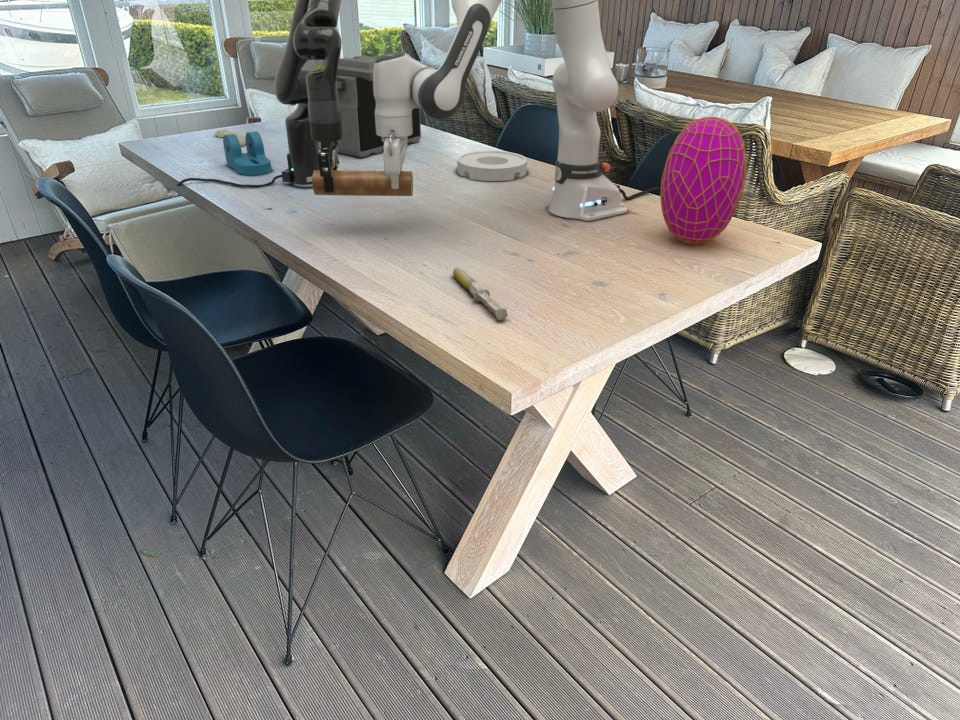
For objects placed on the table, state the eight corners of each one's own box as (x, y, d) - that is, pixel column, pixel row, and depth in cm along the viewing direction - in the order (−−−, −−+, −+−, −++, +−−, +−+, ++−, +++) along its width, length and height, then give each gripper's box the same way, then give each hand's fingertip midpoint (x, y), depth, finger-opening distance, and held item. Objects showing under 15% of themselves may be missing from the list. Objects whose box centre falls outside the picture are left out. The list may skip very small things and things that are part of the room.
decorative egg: (709, 261, 163) (734, 131, 148) (638, 240, 174) (655, 118, 159) (744, 240, 175) (770, 118, 160) (676, 222, 187) (694, 107, 171)
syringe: (449, 274, 155) (449, 263, 153) (465, 272, 156) (464, 260, 154) (490, 323, 135) (491, 310, 133) (508, 319, 136) (508, 307, 134)
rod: (313, 198, 170) (311, 173, 167) (318, 191, 175) (316, 167, 172) (411, 199, 171) (410, 175, 168) (413, 192, 176) (412, 168, 173)
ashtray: (459, 161, 239) (459, 150, 237) (525, 163, 239) (526, 151, 237) (455, 180, 219) (455, 167, 217) (527, 181, 219) (528, 169, 217)
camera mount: (227, 164, 233) (221, 132, 227) (257, 160, 238) (252, 129, 233) (244, 176, 220) (239, 143, 215) (276, 172, 225) (271, 139, 220)
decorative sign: (264, 139, 260) (239, 143, 254) (265, 142, 261) (240, 146, 255) (233, 128, 277) (209, 131, 271) (233, 130, 277) (209, 134, 271)
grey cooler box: (383, 133, 276) (378, 52, 261) (425, 141, 265) (422, 56, 250) (314, 150, 251) (304, 61, 235) (358, 160, 240) (350, 67, 224)
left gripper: (335, 125, 157) (342, 197, 166) (345, 112, 170) (351, 180, 178) (303, 124, 157) (311, 196, 166) (315, 112, 170) (322, 180, 178)
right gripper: (403, 136, 156) (406, 196, 163) (410, 118, 173) (412, 172, 180) (375, 136, 156) (379, 196, 163) (385, 117, 173) (388, 172, 180)
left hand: (331, 187), depth 172 cm, fingers closed on rod, 6 cm apart
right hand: (396, 183), depth 172 cm, fingers closed on rod, 6 cm apart
